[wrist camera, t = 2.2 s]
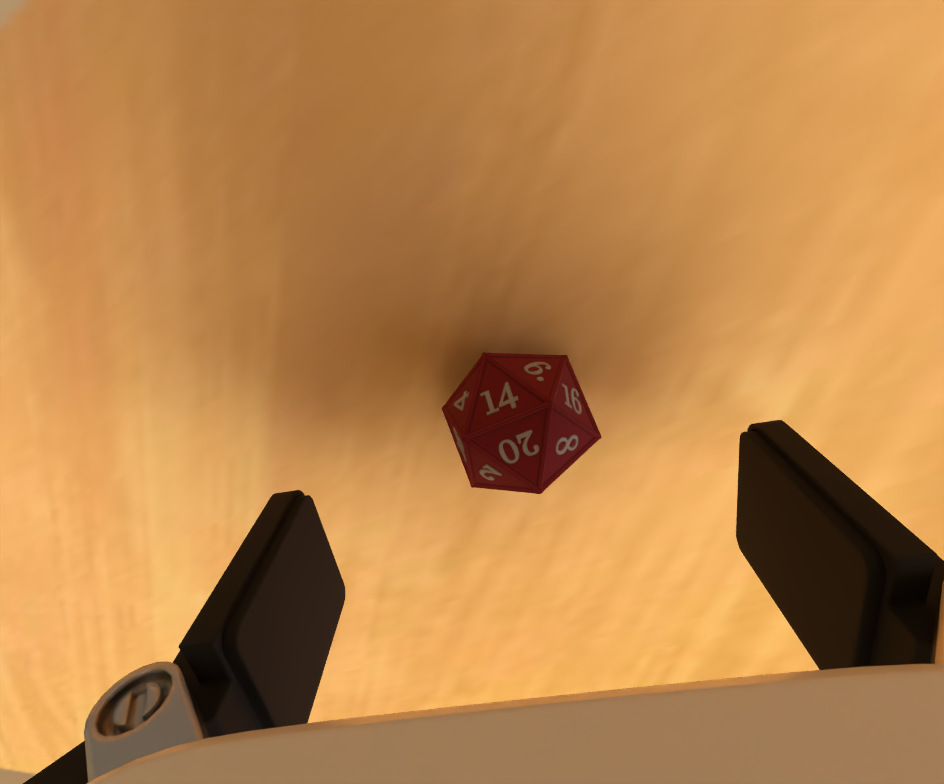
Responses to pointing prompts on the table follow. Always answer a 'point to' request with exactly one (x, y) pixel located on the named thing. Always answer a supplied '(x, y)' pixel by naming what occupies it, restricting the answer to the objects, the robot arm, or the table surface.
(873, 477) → the table surface
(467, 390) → the dice
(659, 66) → the table surface
